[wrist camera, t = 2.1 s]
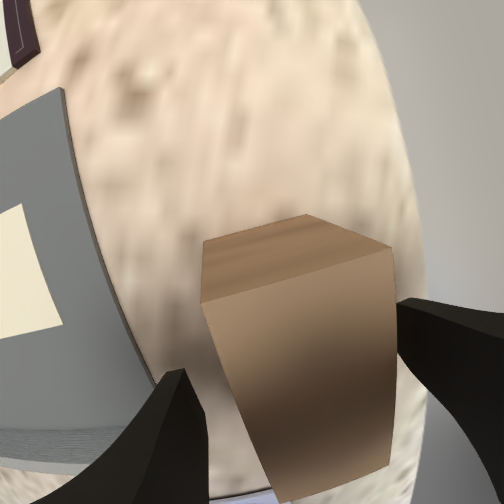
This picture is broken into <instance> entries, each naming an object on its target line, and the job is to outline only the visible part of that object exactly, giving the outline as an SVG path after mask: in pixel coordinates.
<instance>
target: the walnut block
mask: <svg viewBox="0 0 504 504" xmlns="http://www.w3.org/2000/svg"><path fill="white" fill-rule="evenodd" d="M200 304H201V307H202V310H203V313H204V316H205V319H206V322H207V325H208V328H209V330H210V333H211V336H212V339H213V342H214V345H215V348H216V350H217V353H218V356H219V359H220V362H221V364H222V367H223V370H224V373H225V375H226V378H227V381H228V383H229V386H230V389H231V391H232V394H233V396H234V399H235V402H236V404H237V407H238V409H239V412H240V414H241V417H242V419H243V422H244V424H245V427H246V429H247V432H248V434H249V436H250V439H251V441H252V444H253V446H254V448H255V451H256V453H257V455H258V458H259V460H260V462H261V465H262V467H263V469H264V471H265V474H266V476H267V478H268V480H269V483H270V485H271V487H272V489H273V491H274V494H275V496H276V498H277V500H278V502H279V504H282V503H286V502H290V501H293V500H297V499H300V498H304V497H307V496H310V495H314V494H317V493H320V492H323V491H326V490H329V489H332V488H335V487H337V486H340V485H343V484H345V483H348V482H351V481H353V480H356V479H358V478H361V477H363V476H365V475H368V474H370V473H372V472H375V471H377V470H379V469H381V468H383V467H386V466H388V465H389V461H390V454H391V446H392V437H393V427H394V415H395V400H396V380H397V315H396V293H395V278H394V266H393V255H392V247H389V246H387V245H385V244H382V243H380V242H377V241H375V240H372V239H370V238H367V237H365V236H362V235H360V234H357V233H355V232H352V231H350V230H347V229H344V228H342V227H339V226H337V225H334V224H331V223H329V222H326V221H323V220H321V219H318V218H315V217H313V216H310V215H307V214H306V215H302V216H298V217H294V218H290V219H286V220H282V221H278V222H275V223H271V224H267V225H263V226H259V227H255V228H252V229H248V230H244V231H240V232H237V233H233V234H229V235H225V236H222V237H218V238H214V239H211V240H207V241H204V245H203V262H202V280H201V300H200Z"/></svg>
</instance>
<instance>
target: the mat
mask: <svg viewBox="0 0 504 504" xmlns="http://www.w3.org/2000/svg"><path fill="white" fill-rule="evenodd" d="M155 388H156V385H155V383H154V381H153V379H152V377H151V375H150V373H149V371H148V369H147V367H146V365H145V363H144V360H143V358H142V356H141V354H140V352H139V350H138V347H137V345H136V343H135V341H134V338H133V336H132V334H131V332H130V329H129V327H128V325H127V322H126V320H125V317H124V315H123V312H122V310H121V307H120V305H119V302H118V300H117V297H116V295H115V292H114V289H113V287H112V284H111V281H110V278H109V276H108V273H107V270H106V267H105V264H104V261H103V258H102V255H101V252H100V249H99V246H98V243H97V240H96V237H95V233H94V230H93V227H92V223H91V220H90V216H89V213H88V209H87V205H86V202H85V198H84V194H83V190H82V186H81V182H80V178H79V173H78V169H77V164H76V160H75V155H74V150H73V145H72V140H71V134H70V129H69V123H68V117H67V110H66V103H65V96H64V89H62V88H61V87H58V88H56V89H54V90H52V91H50V92H48V93H46V94H44V95H42V96H41V97H39V98H37V99H35V100H33V101H31V102H29V103H28V104H26V105H24V106H22V107H21V108H19V109H17V110H16V111H14V112H12V113H11V114H9V115H7V116H6V117H4V118H2V119H1V120H0V429H18V430H73V429H92V428H105V427H116V426H126V425H129V423H130V422H131V421H132V419H133V418H134V417H135V416H136V414H137V413H138V412H139V410H140V409H141V408H142V406H143V405H144V403H145V402H146V401H147V399H148V398H149V396H150V395H151V393H152V392H153V390H154V389H155Z"/></svg>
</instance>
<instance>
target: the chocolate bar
mask: <svg viewBox="0 0 504 504" xmlns="http://www.w3.org/2000/svg"><path fill="white" fill-rule="evenodd" d="M40 52H41V51H40V47H39V43H38V39H37V34H36V30H35V25H34V21H33V16H32V11H31V5H30V0H0V84H1V83H2V82H3V81H5V80H6V79H7V78H8V77H9V76H11V75H12V74H13V73H14V72H15V71H17V70H18V69H19V68H20V67H22V66H23V65H24V64H25V63H27V62H28V61H29V60H31V59H32V58H33V57H35V56H36V55H37V54H39V53H40Z"/></svg>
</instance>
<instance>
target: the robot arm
mask: <svg viewBox="0 0 504 504" xmlns="http://www.w3.org/2000/svg"><path fill="white" fill-rule="evenodd" d="M396 315H397V352H398V354H399V355H400V357H401V358H402V360H403V361H404V363H405V364H406V366H407V367H408V368H409V370H410V371H411V372H412V373H413V374H414V375H415V377H416V378H417V379H418V380H419V381H420V382H421V383H422V384H423V385H424V386H425V387H426V388H427V389H428V390H429V391H430V392H431V393H432V394H433V395H434V396H435V397H436V398H437V399H438V401H440V403H441V404H442V405H443V406H444V407H445V408H446V409H447V410H448V411H449V412H450V413H451V415H452V416H453V417H454V419H455V420H456V421H457V423H458V424H459V426H460V427H461V428H462V430H463V431H464V433H465V434H466V436H467V437H468V439H469V440H470V442H471V444H472V445H473V447H474V448H475V450H476V452H477V453H478V455H479V457H480V459H481V461H482V463H483V464H484V466H485V468H486V470H487V472H488V475H489V477H490V479H491V481H492V484H493V486H494V488H495V491H496V493H497V496H498V499H499V501H500V502H501V504H504V313H495V312H488V311H480V310H474V309H469V308H463V307H458V306H453V305H449V304H443V303H439V302H434V301H429V300H424V299H418V298H408V299H406V300H403V301H401V302H398V303H396ZM30 504H279V502H278V500H277V498H276V496H275V494H274V491H273V489H270V490H266V491H262V492H257V493H252V494H247V495H242V496H237V497H232V498H226V499H219V500H212V501H209V463H208V432H207V424H206V417H205V412H204V410H203V408H202V406H201V404H200V402H199V400H198V398H197V395H196V393H195V391H194V389H193V387H192V385H191V382H190V380H189V378H188V376H187V373H186V371H185V369H184V368H183V369H179V370H174V371H169V372H166V373H165V375H164V376H163V377H162V379H161V380H160V382H159V383H158V385H157V386H156V388H155V389H154V390H153V392H152V393H151V395H150V396H149V398H148V399H147V401H146V402H145V403H144V405H143V406H142V408H141V409H140V410H139V412H138V413H137V414H136V416H135V417H134V418H133V419H132V421H131V422H130V423H129V425H128V426H127V427H126V428H125V430H124V431H123V432H122V433H121V435H120V436H119V437H118V438H117V439H116V440H115V441H114V442H113V443H112V445H111V446H110V447H109V448H108V449H107V450H106V451H105V452H104V453H103V454H102V455H101V456H100V457H98V458H97V459H96V460H95V461H94V462H93V463H92V464H90V465H89V466H88V467H87V468H85V469H84V470H83V471H82V472H81V473H79V474H78V475H77V476H76V477H74V478H73V479H72V480H70V481H69V482H67V483H66V484H64V485H63V486H61V487H60V488H58V489H57V490H55V491H53V492H52V493H50V494H48V495H47V496H45V497H43V498H41V499H39V500H37V501H35V502H33V503H30ZM282 504H291V502H286V503H282Z"/></svg>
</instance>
